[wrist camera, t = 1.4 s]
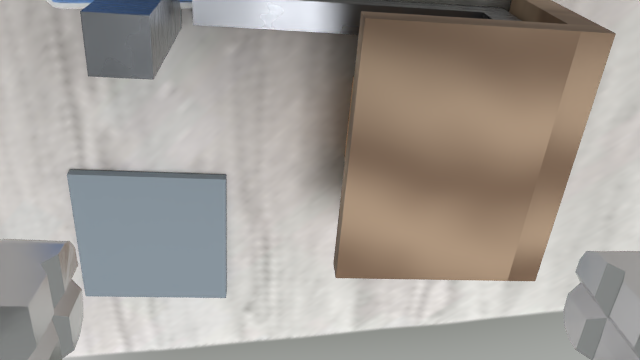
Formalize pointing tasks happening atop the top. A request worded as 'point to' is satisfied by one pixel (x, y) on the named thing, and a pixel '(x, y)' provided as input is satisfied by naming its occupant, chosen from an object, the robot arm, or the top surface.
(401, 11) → the grey u-shaped bracket
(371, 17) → the walnut shelf
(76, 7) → the blue flat slab
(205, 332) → the top surface
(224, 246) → the slate mat
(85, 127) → the top surface
